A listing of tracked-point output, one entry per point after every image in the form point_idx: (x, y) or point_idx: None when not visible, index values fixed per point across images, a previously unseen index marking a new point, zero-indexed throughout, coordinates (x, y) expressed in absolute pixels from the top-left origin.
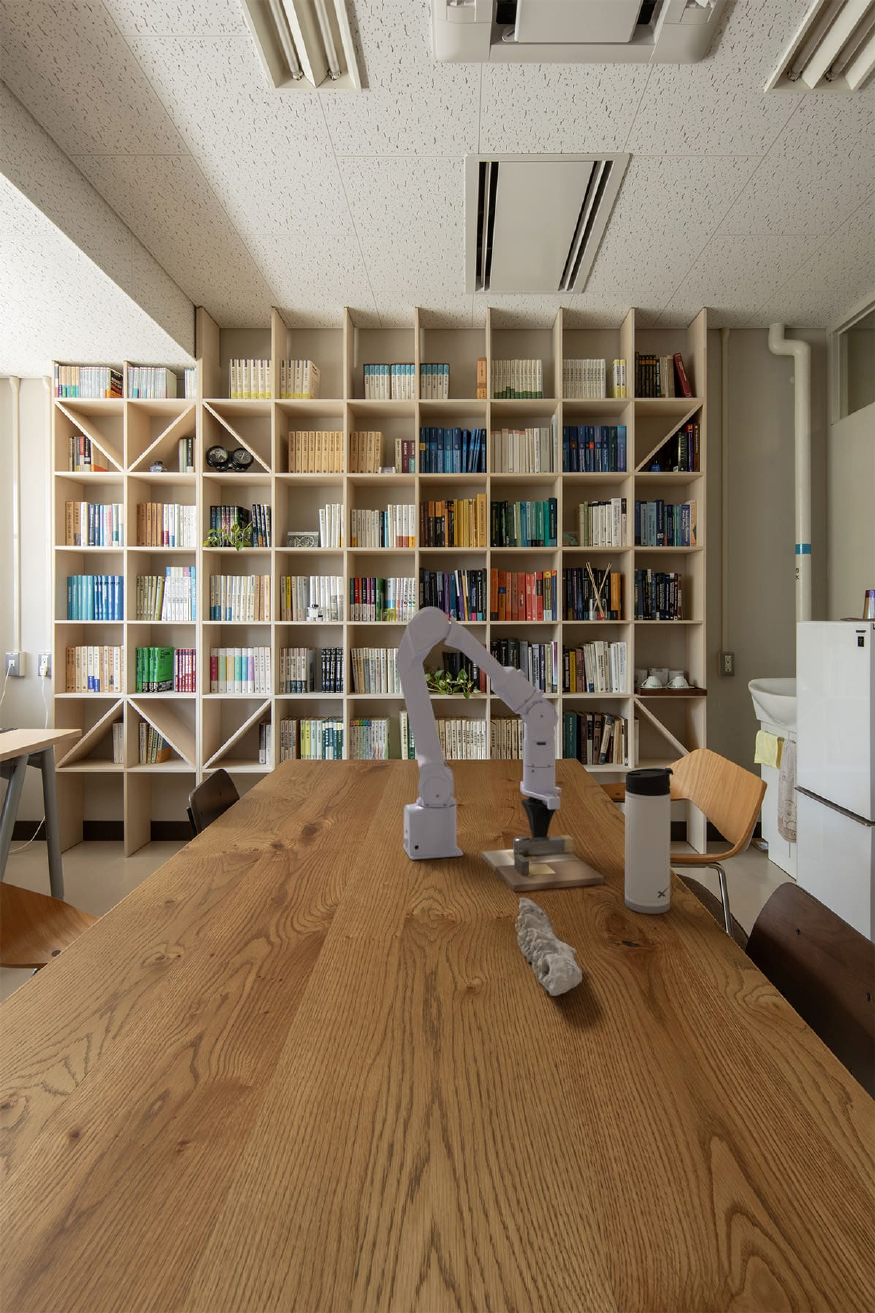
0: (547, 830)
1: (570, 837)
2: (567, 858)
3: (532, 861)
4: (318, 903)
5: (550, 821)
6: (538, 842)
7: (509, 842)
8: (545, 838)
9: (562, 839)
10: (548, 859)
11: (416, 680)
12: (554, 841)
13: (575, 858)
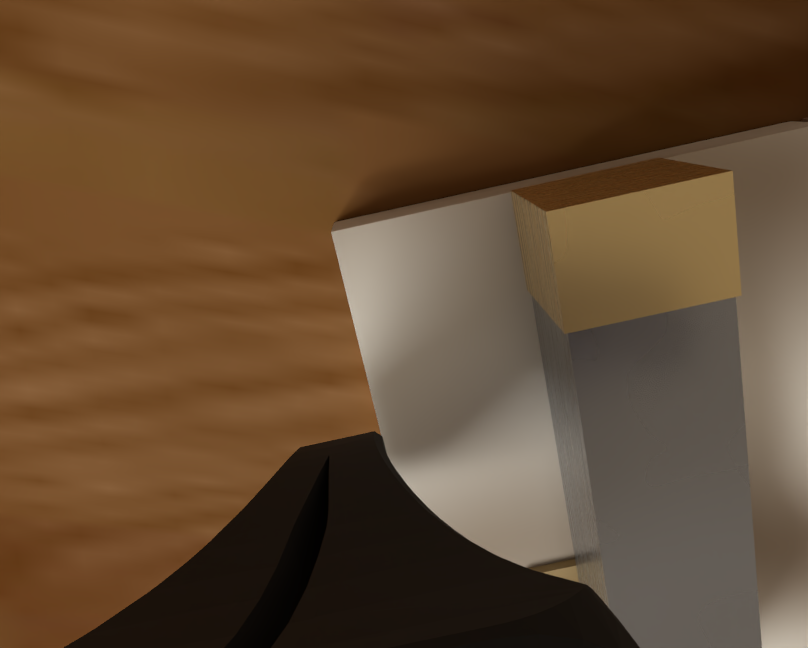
0: (398, 473)
1: (672, 201)
2: (773, 247)
3: (795, 566)
4: None
5: (428, 511)
6: (753, 594)
7: (66, 643)
8: (659, 518)
9: (731, 324)
10: (769, 430)
11: None
12: (736, 419)
13: (787, 163)
